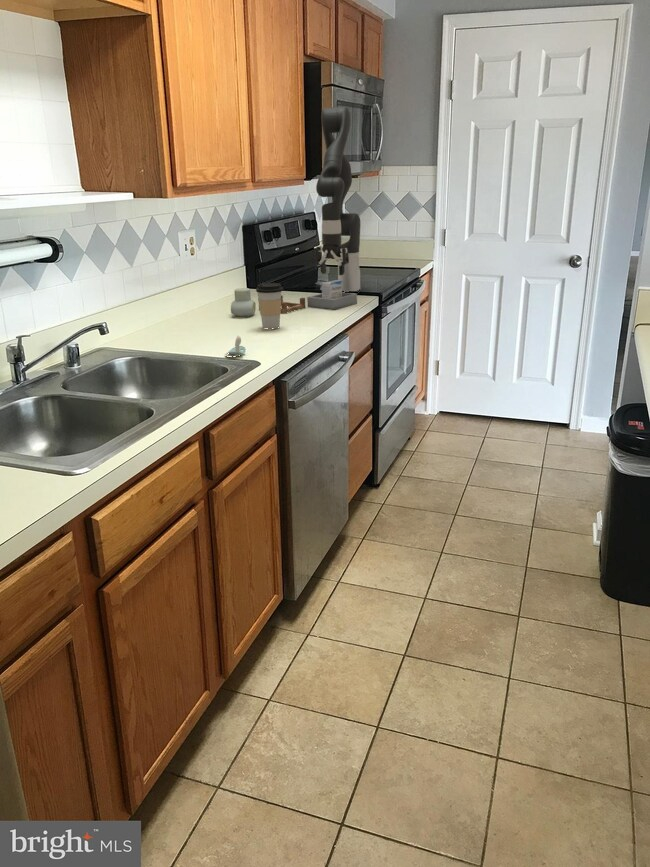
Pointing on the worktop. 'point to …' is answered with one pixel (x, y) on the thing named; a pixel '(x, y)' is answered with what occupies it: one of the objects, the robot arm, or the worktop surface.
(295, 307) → the holder
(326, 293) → the medicine box
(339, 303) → the tray
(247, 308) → the air freshener
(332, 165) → the robot arm
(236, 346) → the pacifier
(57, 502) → the worktop surface
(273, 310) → the coffee cup
